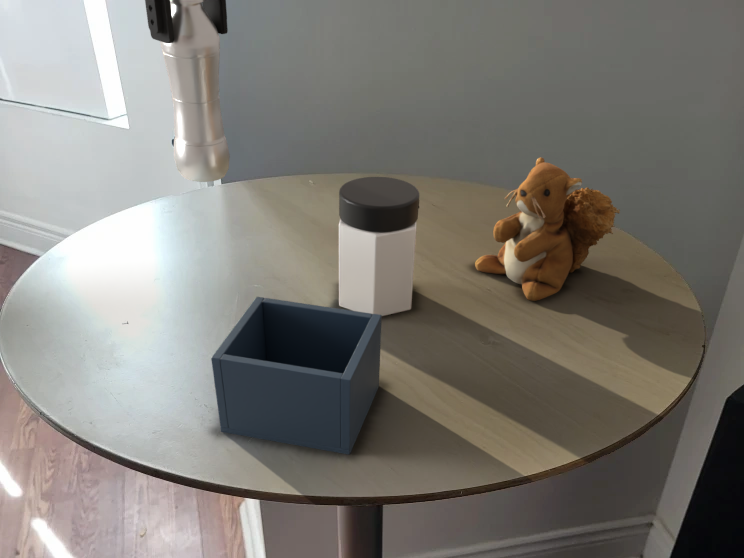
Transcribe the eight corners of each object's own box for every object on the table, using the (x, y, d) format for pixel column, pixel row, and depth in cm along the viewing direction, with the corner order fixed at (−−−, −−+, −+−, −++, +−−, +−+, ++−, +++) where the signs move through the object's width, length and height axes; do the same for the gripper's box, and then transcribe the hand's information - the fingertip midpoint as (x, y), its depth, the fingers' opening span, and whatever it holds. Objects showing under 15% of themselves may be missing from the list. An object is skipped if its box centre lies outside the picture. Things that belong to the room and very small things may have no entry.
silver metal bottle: (178, 190, 90) (152, -15, 76) (175, 169, 95) (150, -27, 81) (234, 187, 91) (218, -14, 78) (228, 167, 96) (213, -26, 82)
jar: (429, 296, 87) (438, 188, 79) (390, 327, 82) (396, 215, 73) (362, 274, 90) (364, 169, 82) (321, 302, 85) (319, 192, 77)
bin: (220, 434, 67) (210, 357, 62) (262, 369, 75) (256, 296, 70) (349, 457, 66) (350, 380, 60) (379, 388, 73) (381, 314, 68)
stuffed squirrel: (467, 270, 92) (481, 155, 83) (560, 247, 97) (582, 137, 88) (518, 308, 85) (539, 187, 76) (615, 281, 91) (645, 166, 82)
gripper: (215, -188, 78) (229, 19, 90) (59, -194, 68) (99, 40, 80) (266, -183, 74) (274, 32, 86) (110, -189, 64) (143, 55, 76)
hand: (190, 34), depth 83 cm, fingers closed on silver metal bottle, 6 cm apart
